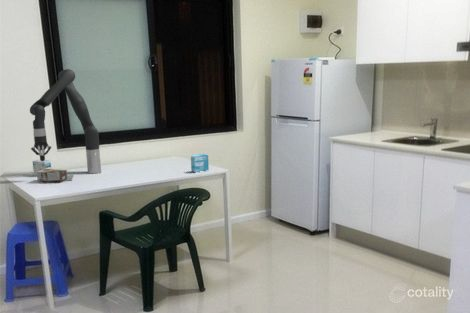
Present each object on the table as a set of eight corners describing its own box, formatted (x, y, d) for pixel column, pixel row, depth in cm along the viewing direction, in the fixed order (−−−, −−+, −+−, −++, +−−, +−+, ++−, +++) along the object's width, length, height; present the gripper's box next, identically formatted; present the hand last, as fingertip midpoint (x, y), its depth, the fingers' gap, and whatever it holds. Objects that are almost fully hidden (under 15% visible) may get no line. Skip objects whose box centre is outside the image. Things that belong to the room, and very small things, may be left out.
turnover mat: (73, 175, 306) (73, 174, 306) (71, 180, 291) (71, 179, 291) (48, 177, 302) (48, 176, 302) (45, 182, 287) (45, 181, 287)
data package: (194, 173, 307) (193, 156, 305) (191, 172, 311) (190, 155, 309) (208, 170, 314) (208, 154, 312) (205, 169, 318) (204, 153, 316)
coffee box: (37, 181, 287) (60, 182, 285) (36, 171, 286) (59, 172, 284) (45, 177, 296) (67, 178, 294) (44, 168, 295) (66, 169, 292)
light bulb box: (52, 174, 312) (51, 159, 310) (46, 176, 305) (44, 161, 303) (40, 173, 315) (38, 159, 313) (33, 176, 308) (31, 161, 306)
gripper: (51, 134, 294) (54, 159, 297) (30, 135, 290) (32, 160, 293) (50, 135, 287) (52, 161, 290) (28, 136, 283) (31, 162, 286)
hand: (42, 160), depth 291 cm, fingers closed
